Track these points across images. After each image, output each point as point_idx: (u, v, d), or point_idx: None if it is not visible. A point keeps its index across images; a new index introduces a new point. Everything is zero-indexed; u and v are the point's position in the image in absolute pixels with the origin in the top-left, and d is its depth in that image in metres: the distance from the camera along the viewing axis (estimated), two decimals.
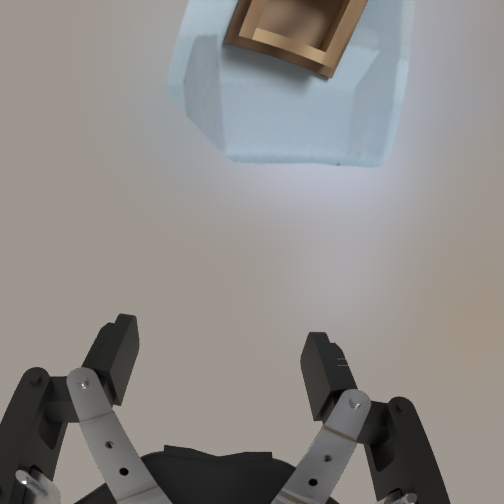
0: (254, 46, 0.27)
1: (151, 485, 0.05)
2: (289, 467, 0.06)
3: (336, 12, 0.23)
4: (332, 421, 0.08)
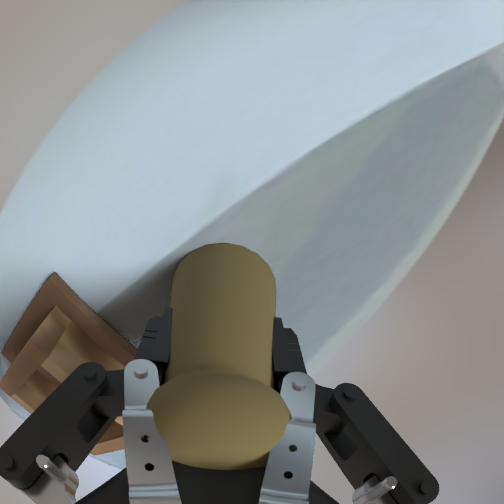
0: None
1: (171, 487, 0.05)
2: None
3: None
4: None
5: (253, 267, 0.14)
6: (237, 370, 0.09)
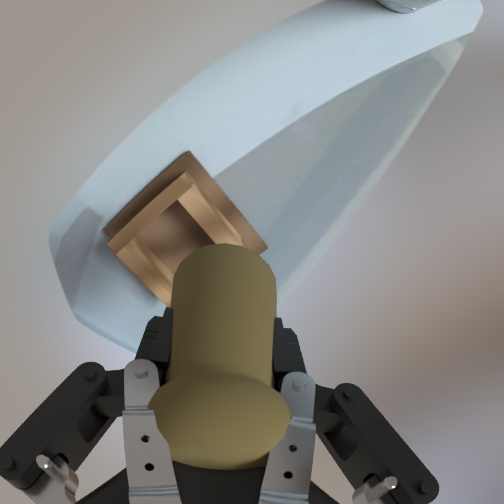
0: None
1: (171, 487, 0.05)
2: None
3: None
4: None
5: (254, 267, 0.14)
6: (238, 370, 0.09)
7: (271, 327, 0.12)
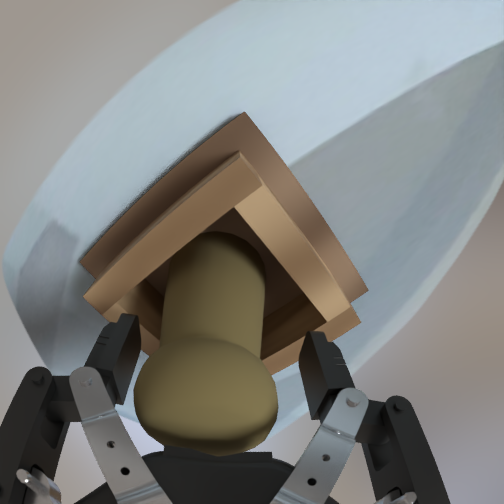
0: None
1: (152, 485, 0.05)
2: (289, 467, 0.06)
3: (285, 307, 0.18)
4: (330, 420, 0.08)
5: (242, 252, 0.15)
6: (223, 337, 0.10)
7: (257, 305, 0.13)
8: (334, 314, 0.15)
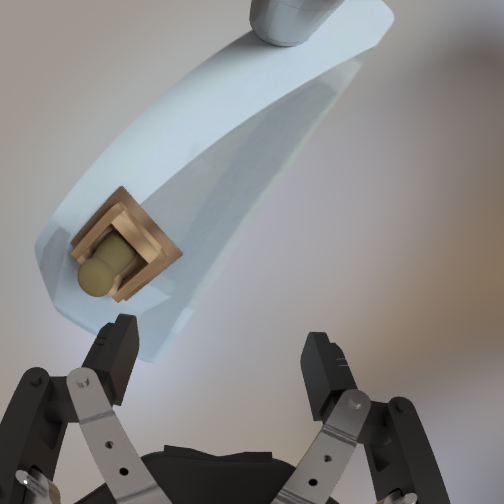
0: None
1: (151, 486, 0.05)
2: (289, 467, 0.06)
3: (145, 261, 0.42)
4: (332, 421, 0.08)
5: (122, 237, 0.40)
6: (101, 258, 0.34)
7: (120, 254, 0.37)
8: (150, 260, 0.39)
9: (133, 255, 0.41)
